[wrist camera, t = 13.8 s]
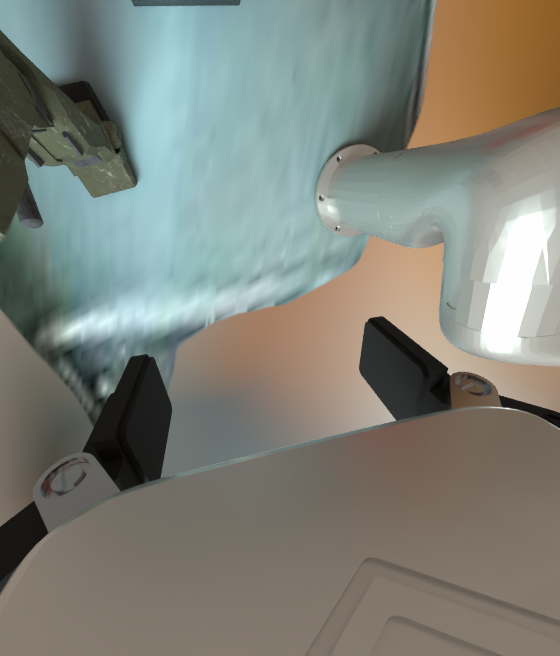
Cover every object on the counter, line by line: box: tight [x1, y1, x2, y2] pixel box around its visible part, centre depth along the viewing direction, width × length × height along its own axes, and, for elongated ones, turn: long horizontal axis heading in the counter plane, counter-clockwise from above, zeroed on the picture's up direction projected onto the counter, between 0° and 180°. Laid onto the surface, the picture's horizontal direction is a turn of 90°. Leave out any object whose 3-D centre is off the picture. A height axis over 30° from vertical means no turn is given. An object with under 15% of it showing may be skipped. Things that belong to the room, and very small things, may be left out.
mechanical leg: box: [0, 30, 137, 242], centre depth 20 cm, size 14×7×30 cm, turn 13°
